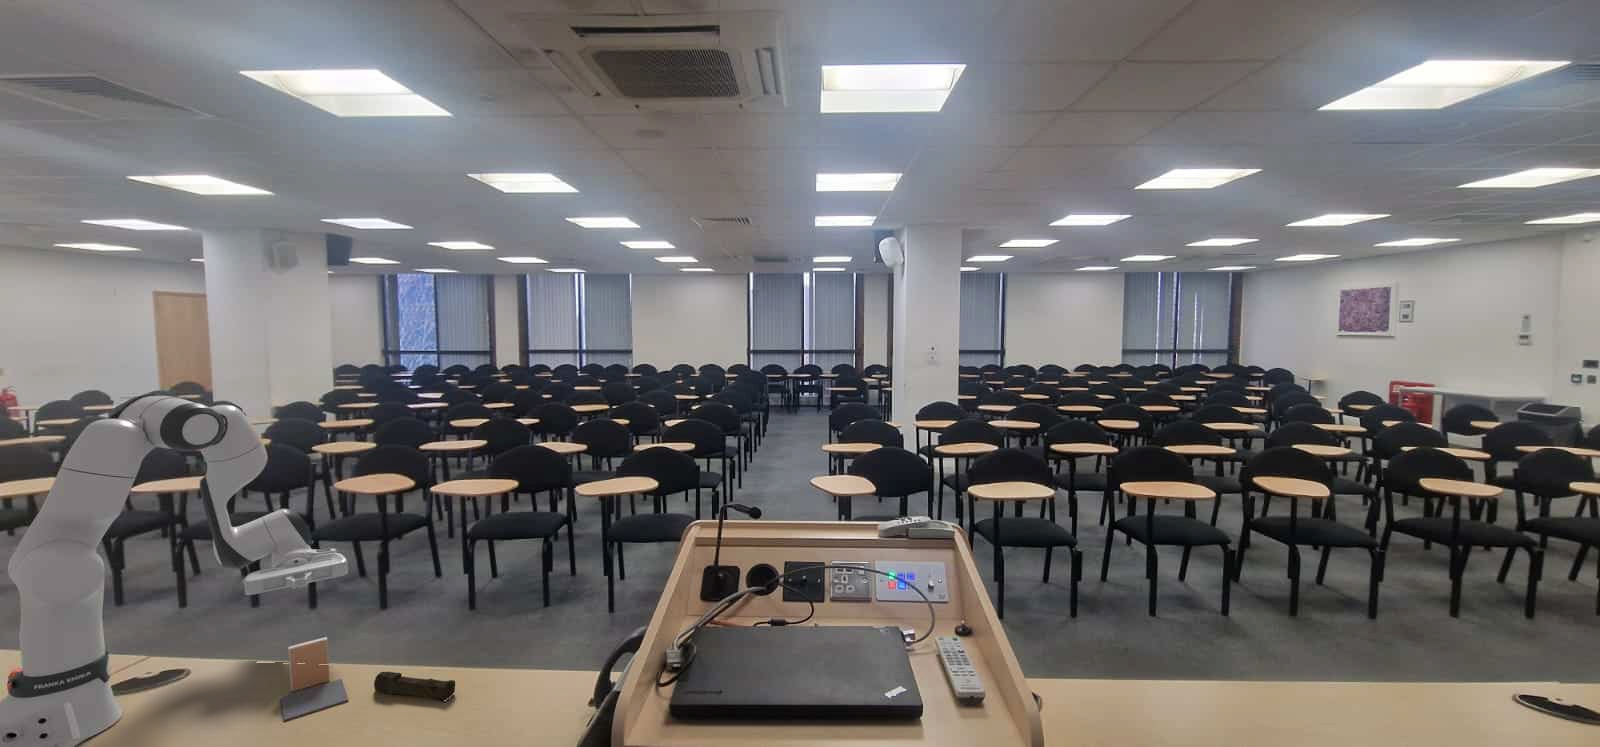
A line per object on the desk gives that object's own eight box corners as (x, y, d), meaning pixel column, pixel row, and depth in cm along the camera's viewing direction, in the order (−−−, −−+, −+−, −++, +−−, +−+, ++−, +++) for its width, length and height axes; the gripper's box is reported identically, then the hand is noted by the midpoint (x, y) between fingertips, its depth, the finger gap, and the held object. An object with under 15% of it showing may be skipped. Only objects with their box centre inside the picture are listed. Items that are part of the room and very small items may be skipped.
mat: (284, 721, 135) (284, 719, 135) (280, 698, 143) (280, 697, 143) (348, 701, 142) (348, 699, 142) (341, 680, 151) (341, 678, 151)
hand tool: (457, 694, 145) (456, 674, 145) (444, 704, 141) (443, 684, 141) (385, 685, 149) (384, 665, 149) (370, 694, 145) (369, 674, 145)
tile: (291, 692, 146) (288, 649, 145) (291, 689, 147) (288, 646, 146) (330, 681, 150) (327, 639, 150) (329, 678, 152) (326, 636, 151)
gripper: (241, 565, 159) (242, 582, 149) (342, 546, 173) (350, 560, 163) (242, 591, 160) (244, 609, 150) (344, 569, 173) (351, 585, 163)
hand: (300, 584), depth 156 cm, fingers closed
